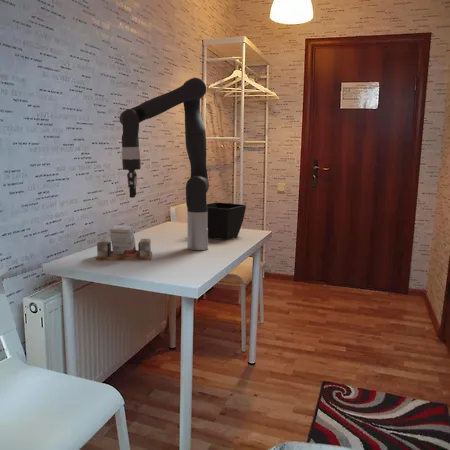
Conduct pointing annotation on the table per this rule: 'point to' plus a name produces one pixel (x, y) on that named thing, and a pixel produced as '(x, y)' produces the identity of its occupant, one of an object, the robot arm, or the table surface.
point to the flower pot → (225, 220)
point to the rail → (107, 254)
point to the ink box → (122, 239)
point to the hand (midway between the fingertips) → (133, 196)
